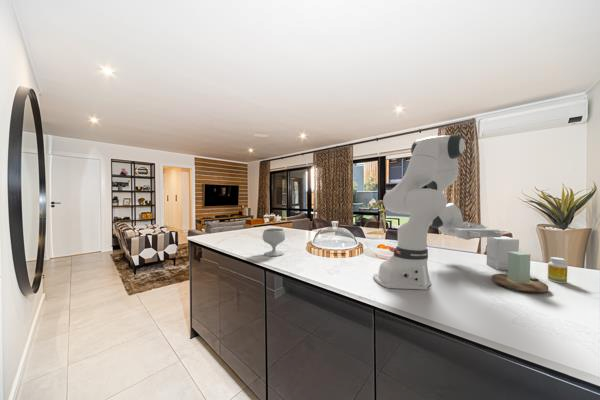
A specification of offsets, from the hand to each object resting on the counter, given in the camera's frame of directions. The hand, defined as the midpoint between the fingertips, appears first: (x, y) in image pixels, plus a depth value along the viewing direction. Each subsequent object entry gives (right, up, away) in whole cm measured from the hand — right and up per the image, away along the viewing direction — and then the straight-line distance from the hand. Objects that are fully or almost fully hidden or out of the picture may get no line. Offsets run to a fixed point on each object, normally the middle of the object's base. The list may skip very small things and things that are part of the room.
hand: (490, 235), depth 100 cm
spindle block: (+1, -16, -11) cm, 20 cm away
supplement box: (+15, -18, +11) cm, 26 cm away
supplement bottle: (+22, -18, -7) cm, 29 cm away
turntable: (+1, -17, -11) cm, 21 cm away
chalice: (-102, -18, +38) cm, 110 cm away
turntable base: (+1, -18, -11) cm, 22 cm away
